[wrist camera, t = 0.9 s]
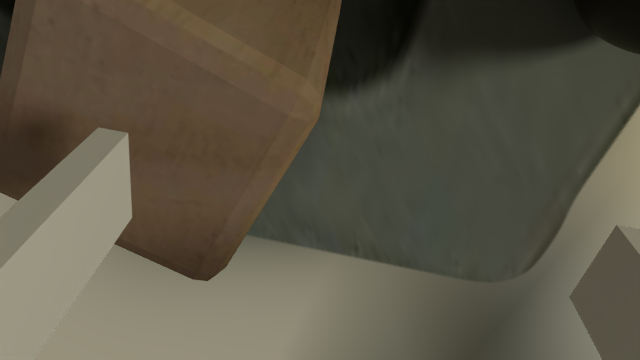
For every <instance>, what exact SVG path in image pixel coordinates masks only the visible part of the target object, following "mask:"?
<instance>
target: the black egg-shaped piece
mask: <svg viewBox="0 0 640 360" xmlns="http://www.w3.org/2000/svg"><path fill="white" fill-rule="evenodd" d="M574 2H575V6H576V9H577V11H578V13H579V15H580V17H581V19H582V20H583V22H584V23H585V24H586V26H587V27H588V28H589V29H590V30H591V31H592V32H593V33H594V34H595V35H597V36H598V37H600V38H601V39H603V40H604V41H606V42H608V43H610V44H612V45H614V46H616V47H618V48H621V49H623V50H626V51H629V52H632V53H636V54H640V0H574Z"/></svg>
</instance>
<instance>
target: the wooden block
mask: <svg viewBox="0 0 640 360" xmlns="http://www.w3.org/2000/svg"><path fill="white" fill-rule="evenodd" d="M340 7H341V0H16V1H15V6H14V11H13V16H12V21H11V27H10V32H9V37H8V42H7V47H6V52H5V57H4V62H3V67H2V72H1V77H0V193H3V194H5V195H7V196H9V197H12V198H14V199H16V200H18V201H19V200H20V199H21V198H22V197H23V196H24V195H25V194H26V193H28V192H29V191H30V190H31V189H32V188H33V187H34V186H35V185H36V184H37V183H38V182H40V181H41V180H42V179H43V178H44V177H45V176H46V175H47V174H48V173H49V172H50V171H52V170H53V169H54V168H55V167H56V166H57V165H58V164H59V163H60V162H61V161H62V160H63V159H65V158H66V157H67V156H68V155H69V154H70V153H71V152H72V151H73V150H74V149H75V148H77V147H78V146H79V145H80V144H81V143H82V142H83V141H84V140H85V139H86V138H87V137H89V136H90V135H91V134H92V133H93V132H94V131H95V130H96V129H97V128H98V127H99V128H104V129H110V130H115V131H120V132H126V133H128V140H129V161H130V182H131V203H132V218H131V220H130V221H129V223H128V224H127V226H126V227H125V228H124V230H123V231H122V233H121V234H120V236H119V237H118V239H117V240H116V242H115V243H114V244H116V245H118V246H120V247H123V248H125V249H127V250H129V251H131V252H134V253H136V254H138V255H140V256H142V257H144V258H147V259H149V260H151V261H153V262H156V263H158V264H160V265H162V266H164V267H167V268H169V269H171V270H173V271H176V272H178V273H180V274H183V275H184V276H187V277H189V278H191V279H195V280H204V281H208V280H210V279H211V278H212V277H214V276H215V275H217V274H218V273H219V272H220V271H221V270H223V269H224V268H225V267H226V266H227V264H228V263H229V261H230V260H231V258H232V256H233V255H234V253H235V252H236V250H237V248H238V247H239V245H240V244H241V242H242V240H243V239H244V237H245V236H246V234H247V232H248V231H249V229H250V228H251V226H252V224H253V223H254V221H255V220H256V218H257V216H258V215H259V213H260V212H261V210H262V208H263V207H264V205H265V204H266V202H267V200H268V199H269V197H270V196H271V194H272V192H273V191H274V189H275V188H276V186H277V184H278V183H279V181H280V180H281V178H282V176H283V175H284V173H285V172H286V170H287V168H288V167H289V165H290V164H291V162H292V160H293V159H294V157H295V156H296V154H297V152H298V151H299V149H300V148H301V146H302V144H303V143H304V141H305V140H306V138H307V136H308V135H309V133H310V132H311V130H312V128H313V127H314V125H315V124H316V122H317V120H318V119H319V115H320V110H321V105H322V100H323V95H324V90H325V85H326V79H327V74H328V69H329V64H330V59H331V54H332V49H333V44H334V38H335V33H336V28H337V23H338V18H339V13H340Z"/></svg>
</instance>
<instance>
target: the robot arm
mask: <svg viewBox="0 0 640 360" xmlns="http://www.w3.org/2000/svg"><path fill="white" fill-rule="evenodd" d="M131 218H132V203H131V182H130V161H129V140H128V133H126V132H120V131H115V130H110V129H104V128H99V127H98V128H97V129H96V130H95V131H94V132H93V133H92V134H91V135H90V136H89V137H87V138H86V139H85V140H84V141H83V142H82V143H81V144H80V145H79V146H78V147H77V148H75V149H74V150H73V151H72V152H71V153H70V154H69V155H68V156H67V157H66V158H65V159H63V160H62V161H61V162H60V163H59V164H58V165H57V166H56V167H55V168H54V169H53V170H52V171H50V172H49V173H48V174H47V175H46V176H45V177H44V178H43V179H42V180H41V181H40V182H38V183H37V184H36V185H35V186H34V187H33V188H32V189H31V190H30V191H29V192H28V193H26V194H25V195H24V196H23V197H22V198H21V199H20V200H19V201H18V202H17V203H16V204H15V205H13V206H12V207H11V208H10V209H9V210H8V211H7V212H6V213H5V214H4V215H3V216H1V218H0V360H35V358H36V357H37V355H38V354H39V352H40V351H41V349H42V348H43V346H44V345H45V344H46V342H47V341H48V339H49V338H50V336H51V335H52V333H53V332H54V330H55V329H56V328H57V326H58V325H59V323H60V322H61V320H62V319H63V317H64V316H65V314H66V313H67V311H68V310H69V309H70V307H71V306H72V304H73V303H74V301H75V299H76V298H77V297H78V295H79V294H80V293H81V291H82V290H83V288H84V287H85V285H86V284H87V282H88V281H89V279H90V278H91V277H92V275H93V274H94V272H95V271H96V269H97V267H98V266H99V265H100V263H101V262H102V261H103V259H104V258H105V256H106V255H107V253H108V251H109V250H110V249H111V247H112V246H113V244H114V243H115V242H116V240H117V239H118V237H119V236H120V234H121V233H122V231H123V230H124V228H125V227H126V226H127V224H128V223H129V221H130V220H131ZM570 299H571V300H572V302H573V304H574V306H575V308H576V310H577V312H578V314H579V316H580V318H581V320H582V321H583V323H584V325H585V327H586V329H587V331H588V333H589V335H590V337H591V339H592V340H593V342H594V344H595V346H596V348H597V350H598V352H599V354H600V356H601V358H602V360H640V229H636V228H630V227H625V226H620V225H616V227H615V228H614V230H613V231H612V233H611V234H610V236H609V237H608V239H607V240H606V242H605V243H604V245H603V246H602V248H601V250H600V251H599V253H598V254H597V256H596V257H595V259H594V260H593V262H592V263H591V265H590V266H589V268H588V269H587V271H586V272H585V274H584V276H583V277H582V278H581V280H580V282H579V283H578V285H577V286H576V288H575V289H574V291H573V292H572V294H571V295H570Z"/></svg>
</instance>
